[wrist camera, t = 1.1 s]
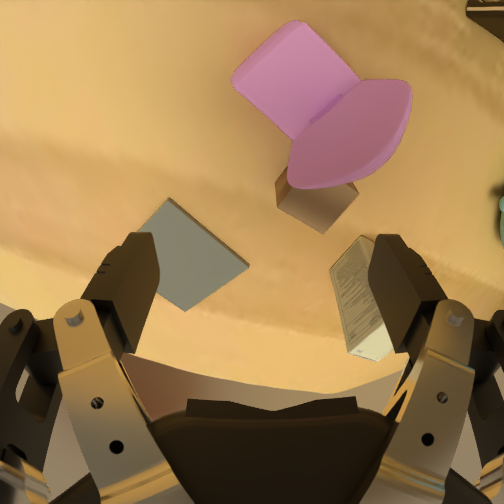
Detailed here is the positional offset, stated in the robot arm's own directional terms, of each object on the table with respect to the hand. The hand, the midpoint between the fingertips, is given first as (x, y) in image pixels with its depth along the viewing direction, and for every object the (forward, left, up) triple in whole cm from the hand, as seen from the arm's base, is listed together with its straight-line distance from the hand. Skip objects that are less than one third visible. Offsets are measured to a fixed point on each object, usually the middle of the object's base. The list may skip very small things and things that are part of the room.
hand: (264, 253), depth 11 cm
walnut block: (0, +7, -19) cm, 20 cm away
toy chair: (-5, -1, -19) cm, 20 cm away
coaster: (+18, +5, -19) cm, 26 cm away
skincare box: (+2, +19, -19) cm, 27 cm away
